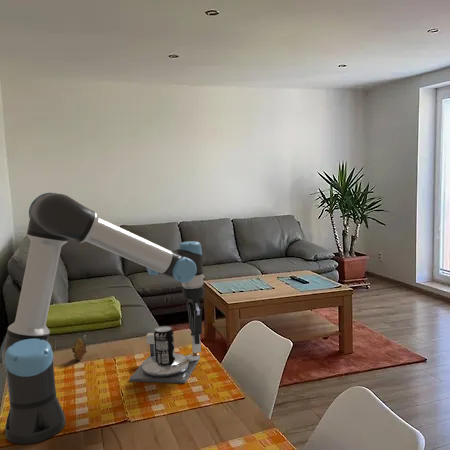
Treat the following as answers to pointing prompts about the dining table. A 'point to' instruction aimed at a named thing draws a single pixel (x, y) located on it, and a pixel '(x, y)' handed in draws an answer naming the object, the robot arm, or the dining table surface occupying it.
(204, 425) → the dining table surface
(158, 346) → the beverage can
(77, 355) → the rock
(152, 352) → the turntable base
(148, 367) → the turntable
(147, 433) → the dining table surface
